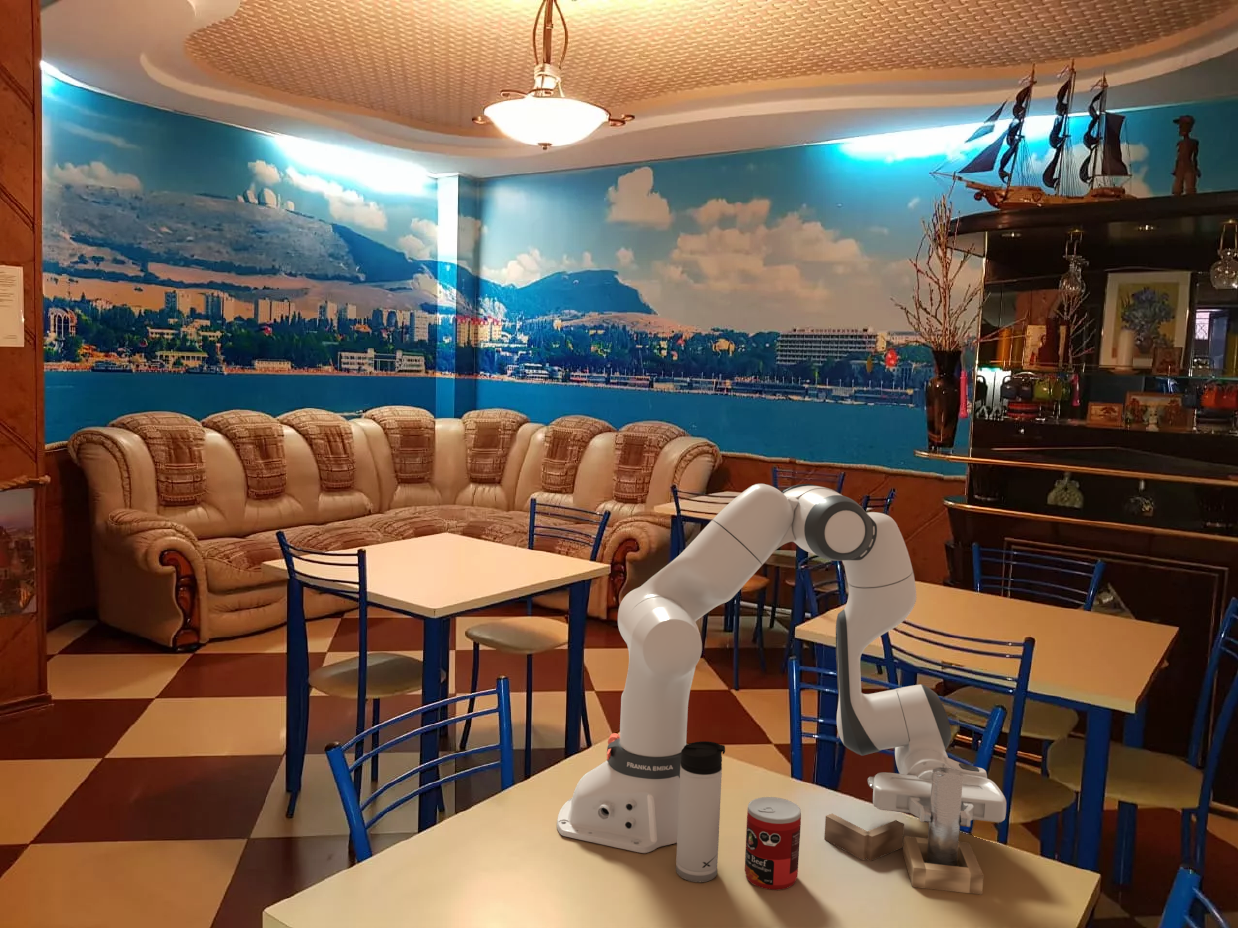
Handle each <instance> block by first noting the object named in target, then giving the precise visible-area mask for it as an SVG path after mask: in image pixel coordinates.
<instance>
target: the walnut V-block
mask: <svg viewBox="0 0 1238 928" xmlns="http://www.w3.org/2000/svg"><path fill="white" fill-rule="evenodd" d="M904 829H905V823H903V822H901V821H900V820H897V819H895V820H893V821H890V822H887V823H885V824H882V825H880V826H877V827H874V828H872V829H869V830H865V829H863V828H861V827H860V826H858V825H856V824H853V823H852V822H850V821H848V820H846V819H845V818H842V817H840V816H839V815H836V814H834V813H829V814H826V815H825V822H824V840H825V841H827V842H829V843H831V844H833V845H835V846H836V847H838V848H840V849H841V850H844V851H845V852H848V853H849V854H851V855H852V856H854V857H856V858H859V860H862V861H865V860H868V861H870V862H871V861H874V860H876V859H879V858H881V857H883V856H886V855H889V854H891V853H892V852H896V851H897V850H900V849H903V845H904Z"/></svg>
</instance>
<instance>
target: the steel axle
mask: <svg viewBox="0 0 1238 928" xmlns="http://www.w3.org/2000/svg"><path fill="white" fill-rule="evenodd" d="M962 783H963V774H962V773H961V772H959V771H957V770H954V769H951V768H945V767H939V768H935V769H933V773H932V788H931V803H930V811H931V817H930V819H931V822H928V834H927V838H928V847H927V862H925V863H930V864H939V865H948V866H957V867H958V865H957V855H958V842H960V841H959V839H960V838H959V837H960V827H961V826H960V812H961V798H962Z"/></svg>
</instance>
